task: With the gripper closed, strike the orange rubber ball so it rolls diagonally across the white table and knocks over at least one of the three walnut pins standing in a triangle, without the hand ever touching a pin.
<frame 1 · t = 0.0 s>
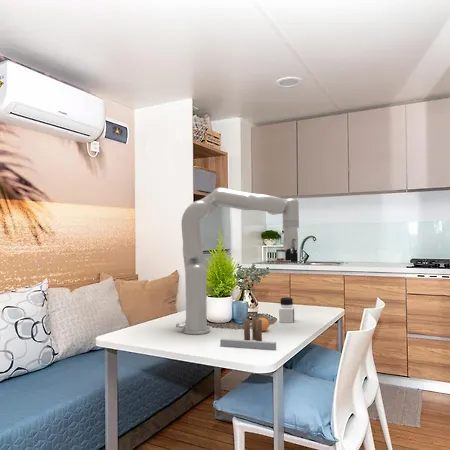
hand: (291, 261, 196), 31 cm above the table, tool pointing down, fingers open, 9 cm apart
medicine bottle: (286, 321, 210), on the table
stopper rail: (247, 347, 163), on the table
front pin: (255, 339, 175), on the table
ball: (262, 324, 190), on the table
back pin right: (259, 342, 171), on the table
back pin left: (247, 341, 172), on the table
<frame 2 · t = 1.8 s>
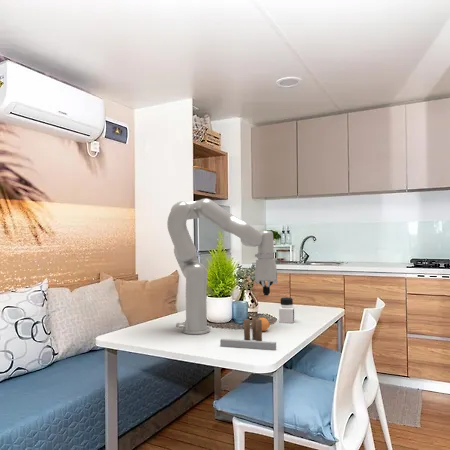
hand: (266, 295, 199), 15 cm above the table, tool pointing down, fingers closed
nothing on the table moved.
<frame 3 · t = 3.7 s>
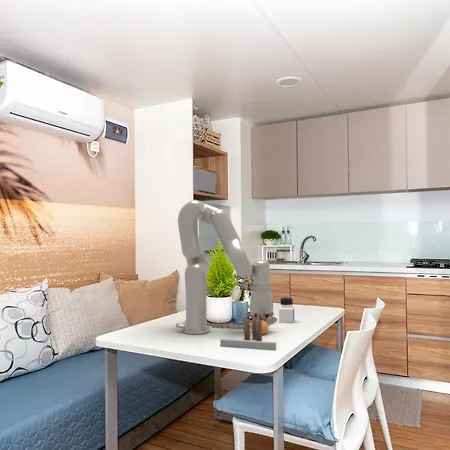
hand: (262, 328, 189), 1 cm above the table, tool pointing down, fingers closed
ball: (261, 327, 184), on the table
everything else where it was.
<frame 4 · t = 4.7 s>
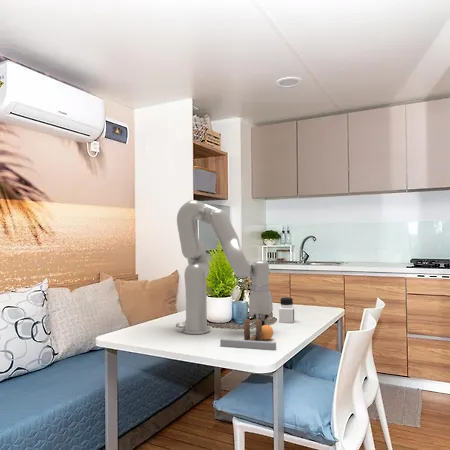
hand: (261, 329, 187), 2 cm above the table, tool pointing down, fingers closed
front pin: (254, 337, 174), point 1 cm above the table, tilted 90°
ball: (266, 332, 175), on the table
everything else where it was.
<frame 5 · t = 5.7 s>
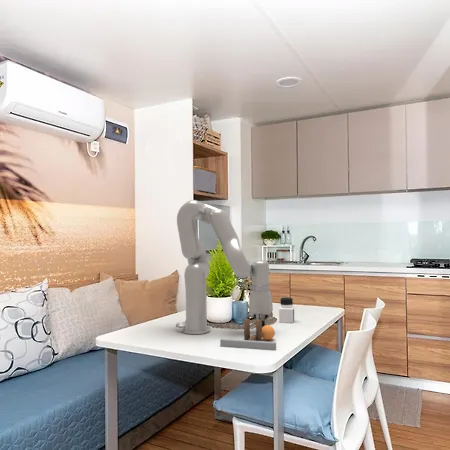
hand: (261, 329, 187), 2 cm above the table, tool pointing down, fingers closed
nothing on the table moved.
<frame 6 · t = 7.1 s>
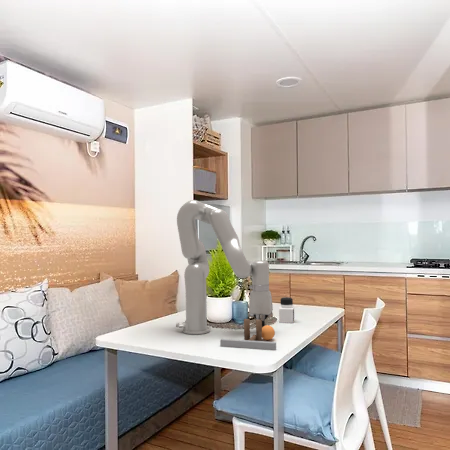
hand: (261, 329, 187), 2 cm above the table, tool pointing down, fingers closed
nothing on the table moved.
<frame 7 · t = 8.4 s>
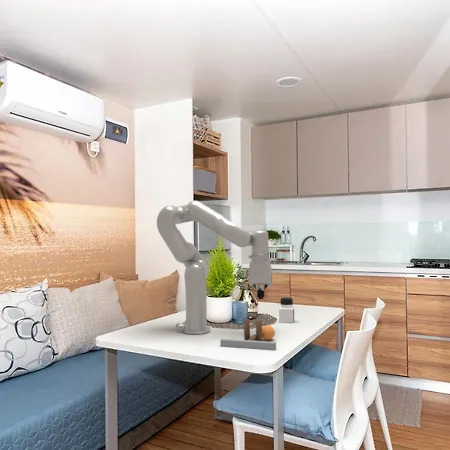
hand: (260, 298, 187), 15 cm above the table, tool pointing down, fingers closed
nothing on the table moved.
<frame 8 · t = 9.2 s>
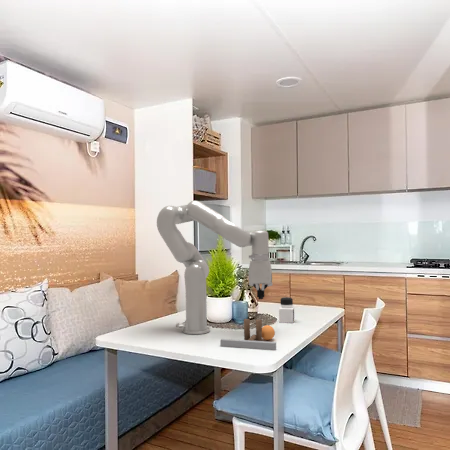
hand: (260, 298, 187), 15 cm above the table, tool pointing down, fingers closed
nothing on the table moved.
at the end: 1 of 3 knocked over (down: front pin; still standing: back pin right, back pin left); front pin never touched the robot; ball moved 15.9 cm from its start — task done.
